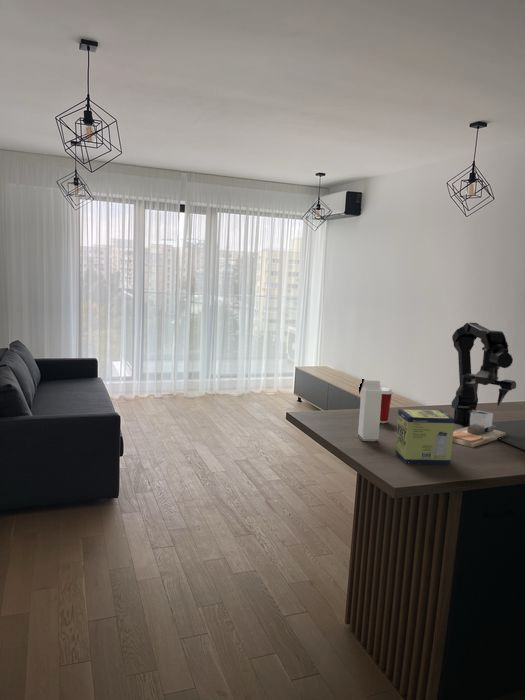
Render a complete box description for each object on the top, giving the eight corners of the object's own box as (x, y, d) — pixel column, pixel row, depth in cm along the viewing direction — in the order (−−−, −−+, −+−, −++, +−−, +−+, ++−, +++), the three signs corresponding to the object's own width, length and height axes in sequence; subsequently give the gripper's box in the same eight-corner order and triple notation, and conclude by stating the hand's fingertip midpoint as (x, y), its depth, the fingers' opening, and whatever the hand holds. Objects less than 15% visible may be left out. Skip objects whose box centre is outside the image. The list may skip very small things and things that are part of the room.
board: (440, 438, 201) (440, 433, 201) (474, 428, 218) (474, 423, 218) (472, 447, 192) (473, 441, 191) (505, 436, 209) (506, 431, 208)
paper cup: (390, 420, 224) (393, 388, 222) (389, 425, 217) (391, 391, 215) (372, 418, 227) (374, 386, 225) (369, 422, 220) (372, 389, 218)
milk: (357, 437, 199) (361, 378, 196) (373, 437, 199) (377, 379, 196) (362, 442, 193) (366, 382, 190) (378, 442, 193) (382, 382, 190)
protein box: (394, 453, 181) (397, 408, 179) (438, 454, 182) (442, 410, 180) (404, 464, 171) (408, 416, 169) (451, 464, 172) (455, 418, 170)
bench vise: (467, 432, 206) (469, 414, 205) (484, 427, 215) (486, 410, 214) (479, 435, 203) (480, 417, 202) (495, 430, 212) (497, 412, 211)
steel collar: (469, 424, 208) (470, 412, 207) (477, 422, 212) (478, 410, 211) (484, 428, 204) (485, 415, 203) (491, 426, 208) (493, 413, 207)
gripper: (457, 361, 205) (453, 401, 207) (507, 369, 192) (502, 411, 194) (470, 359, 213) (466, 397, 215) (518, 366, 200) (514, 407, 202)
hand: (486, 403), depth 206 cm, fingers open, 9 cm apart
